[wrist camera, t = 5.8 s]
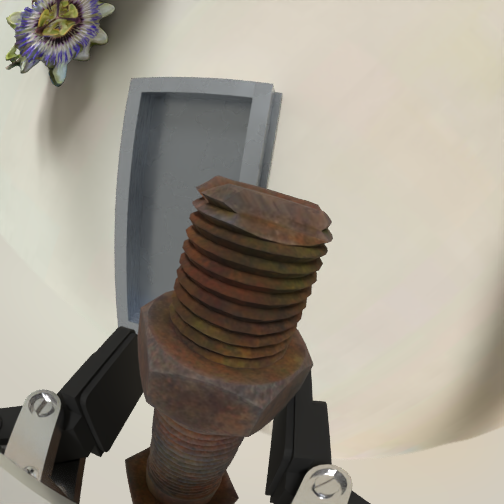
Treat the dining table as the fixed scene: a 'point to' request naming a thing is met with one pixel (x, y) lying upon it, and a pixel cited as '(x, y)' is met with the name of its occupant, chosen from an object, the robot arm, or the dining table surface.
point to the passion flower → (57, 34)
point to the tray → (180, 170)
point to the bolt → (225, 338)
